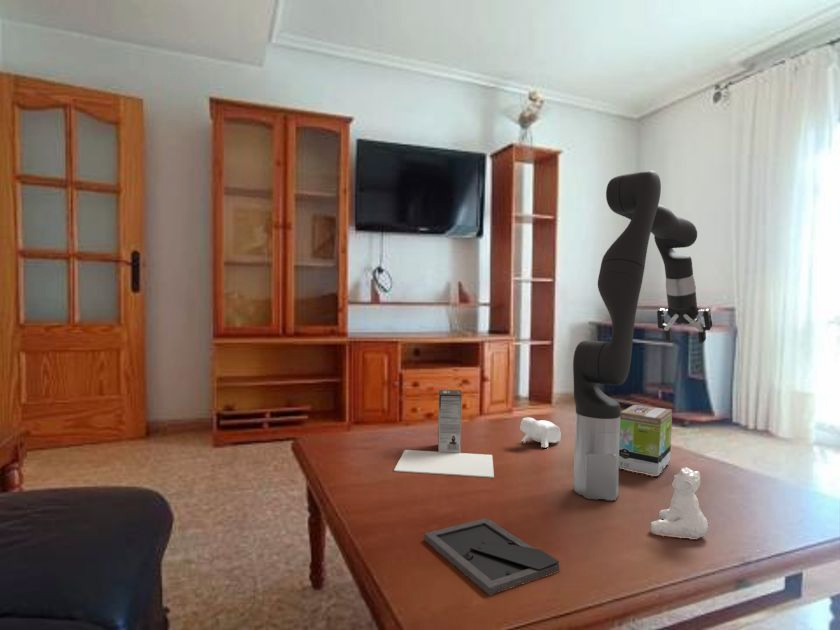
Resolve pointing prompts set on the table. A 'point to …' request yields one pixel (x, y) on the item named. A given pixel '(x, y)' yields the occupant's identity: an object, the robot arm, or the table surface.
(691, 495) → the seated beast figurine
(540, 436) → the white animal figurine
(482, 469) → the flat white rectangular panel
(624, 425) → the tea box
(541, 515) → the table surface
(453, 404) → the coffee box
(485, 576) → the picture frame
